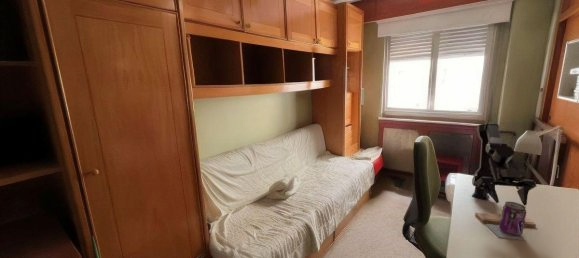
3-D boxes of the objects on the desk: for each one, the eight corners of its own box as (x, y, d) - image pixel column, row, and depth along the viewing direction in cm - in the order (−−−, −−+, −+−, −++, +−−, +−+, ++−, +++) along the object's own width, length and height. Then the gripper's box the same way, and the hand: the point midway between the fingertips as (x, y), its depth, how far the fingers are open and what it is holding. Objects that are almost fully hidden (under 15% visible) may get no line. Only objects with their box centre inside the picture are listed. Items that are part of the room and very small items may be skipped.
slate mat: (509, 226, 106) (509, 226, 106) (524, 240, 97) (524, 239, 97) (485, 224, 107) (485, 224, 107) (498, 237, 99) (498, 236, 99)
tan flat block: (525, 219, 111) (525, 216, 110) (535, 227, 105) (536, 223, 105) (475, 215, 115) (475, 212, 114) (482, 222, 109) (482, 219, 109)
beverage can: (513, 238, 97) (518, 210, 95) (494, 228, 104) (499, 202, 102) (526, 235, 99) (532, 208, 97) (507, 225, 106) (512, 200, 104)
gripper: (483, 158, 102) (493, 194, 94) (537, 161, 98) (554, 199, 89) (472, 169, 111) (480, 203, 103) (521, 172, 107) (534, 208, 98)
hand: (511, 203), depth 98 cm, fingers open, 9 cm apart
